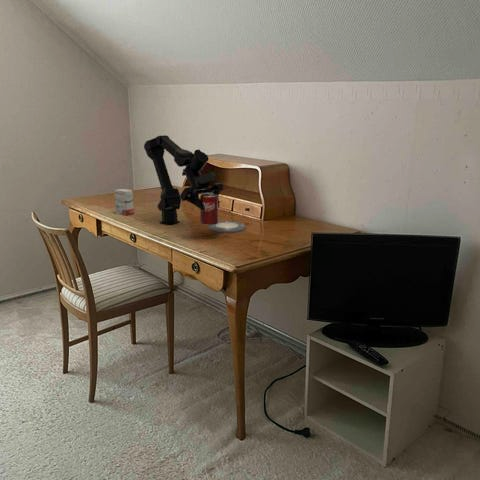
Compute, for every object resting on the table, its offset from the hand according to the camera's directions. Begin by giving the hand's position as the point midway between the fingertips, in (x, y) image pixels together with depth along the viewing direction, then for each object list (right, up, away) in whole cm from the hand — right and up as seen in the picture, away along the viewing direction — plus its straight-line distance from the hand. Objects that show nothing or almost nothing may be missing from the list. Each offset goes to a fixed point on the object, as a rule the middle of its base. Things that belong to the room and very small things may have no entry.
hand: (211, 208), depth 201 cm
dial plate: (+6, -7, +18) cm, 21 cm away
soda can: (-1, -6, +3) cm, 7 cm away
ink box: (-45, 0, +44) cm, 63 cm away
